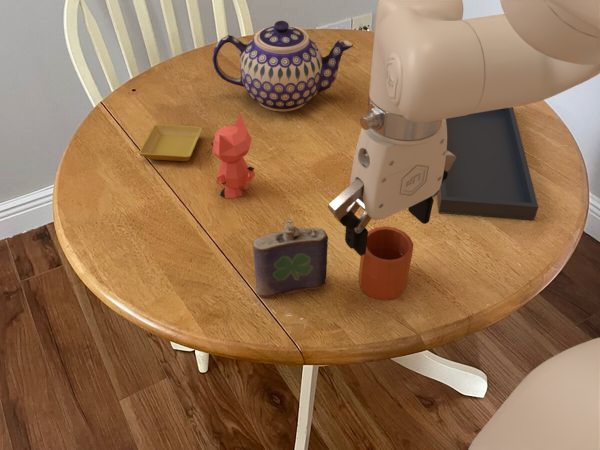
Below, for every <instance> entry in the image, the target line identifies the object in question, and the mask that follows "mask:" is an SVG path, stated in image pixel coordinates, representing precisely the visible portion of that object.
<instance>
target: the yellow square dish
mask: <svg viewBox="0 0 600 450" xmlns="http://www.w3.org/2000/svg"><path fill="white" fill-rule="evenodd" d="M203 130H204V128H203V127H202V126H197V125H196V126H195V125H179V124H178V125H177V124H164V123H156V124H154V125H153V126H152V128H151V130H150V132H149V133H148V135H147V136H146V139H145V140H144V143H143V144H142V146H141V148H140V150H139V151H138V154H139V155H140V156H142V157H144V158H146V159H149V160H153V161H154V160H155V161H156V160H157V161H173V162H174V161H175V162H188V161H189V160H190V159H191V157H192V155H193V152H194V150H195V148H196V146H197V144H198V141H199V138H200V136H201V134H202V132H203Z"/></svg>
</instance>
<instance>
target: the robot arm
mask: <svg viewBox="0 0 600 450" xmlns="http://www.w3.org/2000/svg"><path fill="white" fill-rule="evenodd" d="M499 2H500V5H501V9H502V11H503V13H502V14H493V15H486V16H479V17H472V18H464V2H463V0H378V1H377V5H376V6H377V7H376V14H375V25H374V36H373V45H372V46H373V47H372V48H373V49H372V60H371V67H370V68H371V70H370V81H369V91H368V101H367V111H366V112H367V113H366V114H365V115H364V116H361V117H360V119H359V122H360V125H361V130H360V133H359V136H358V139H357V144H356V147H355V151H354V156H353V160H352V167H351V173H350V182H349V183H350V184H349V185H348V186H347V187H346V188H345V189H344V190H343V191H342V192H340V193H339V194H338V195H336V196H335V198H334V199H332V201H330V202H329V204H328V205H327V208H328V210H329V211H330V212H331V214H332V215H333V217H334V218H335V219H336V220H337V221H338V222H339V223H340V224H341V225H342V226H343V227H345V234H344V241H345V243H346V245H347V246H348V248H350V249H352V250H354V251H355V252H356V253H357V254H358V255H359V256H360V257H361V256H362V255H364V254H365V252H366V246H367V237H368V231H369V230H368V229H367V228H366V227H367V226H368V224H369V223H370V221H371V220H375V221H378V220H379V221H380V220H384V219H386V218H389V217H391V216H394V215H396V214H398V213H400V212H402V211H404V210H407V209H408V210H407V211H408V212H409V213H410V214H411V215H412V216H413V217H414V218H416V219H417V220H418V221H419V222H420V223H422V224H423V225H426V224H428V223H430V219H431V214H432V209H433V204H434V200H435V199H434V198H436V197H437V195H438V194H439V191H440V190H439V189H440V186H441V184H442V182H443V181H444V180H445V179H446V178H447V176H448V172H447V171H448V170H449V169H450V168H451V166H452V164H453V163H454V161H455V159H456V156H455V155H454V154H452V153H451V152H450V151H448V150H447V125H446V119H448V118H454V117H460V116H466V115H469V114H474V113H480V112H486V111H492V110H498V109H504V108H511V107H513V108H516V107H523V106H528V105H531V104H535V103H539V102H542V101H544V100H547V99H550V98H552V97H555V96H557V95H559V94H562V93H563V92H566V91H568V90H570V89H572V88H574V87H576V86H579V85H581V84H583V83H585V82H588V81H589V80H591V79H592V78H594V77H597V76H598V75H600V0H499ZM360 208H361V209H362V210H363V213H362V214H361V215H360V217H359V218H358V216H357V215H355V214H356V213H357V211H358V210H359V209H360ZM467 450H600V337H596V338H593V339H590V340H587V341H585V342H584V341H583V342H581V343H579V344H576V345H574V346H572V347H569V348H567V349H565V350H563V351H561V352H559V353H557V354H555V355H553V356H551V357H549V358H548V359H546V360H545V361H543V362H541V363H540V364H539V365H537V366H536V367H535V368H534V369H532V370H531V371H530V372H529V373H528V374H527V375H526V376H525V377H524V378H523V379H522V380H521V381H520V383H519V384H518V385H517V386H516V387H515V389H514V390H512V392H511V393H510V394H509V396H508V397H507V398H506V399H505V400H504V402H503V403H502V404H501V405H500V407H499V408H498V409H497V410H496V411H495V413H494V414H493V415H492V416H491V417H490V419H489V420H488V421H487V423H486V424H485V425H484V426H483V427H482V428H481V430H480V431H479V433H477V435H476V436H475V437H474V439H473V440H472V441H471V444H470V445H469V447H468V449H467Z"/></svg>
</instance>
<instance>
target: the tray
mask: <svg viewBox="0 0 600 450" xmlns="http://www.w3.org/2000/svg"><path fill="white" fill-rule="evenodd" d="M446 125H447V150H448V151H450V152H451V153H452V154H454V155H455V156H456V159H455V161H454V163H453V164H452V166H451V168H450V169H449V170H448V171H447V172H448V176H447V178H446V179H445V180H444V181H443V182H442V184H441V186H440V189H439V190H440V191H439V194H438V195H437V196H436V197H437V210H438V214H449V215H463V216H475V217H487V218H501V219H513V220H526V221H535V217H536V214H537V212H538V209H539V204H538V200H537V195H536V192H535V188H534V183H533V181H532V175H531V173H530V167H529V164H528V160H527V156H526V153H525V149H524V144H523V140H522V137H521V133H520V132H521V131H520V129H519V124H518V120H517V117H516V113H515V109H514V107H511V108H504V109H498V110H492V111H486V112H480V113H474V114H469V115H466V116H460V117H454V118H448V119H446Z"/></svg>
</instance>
